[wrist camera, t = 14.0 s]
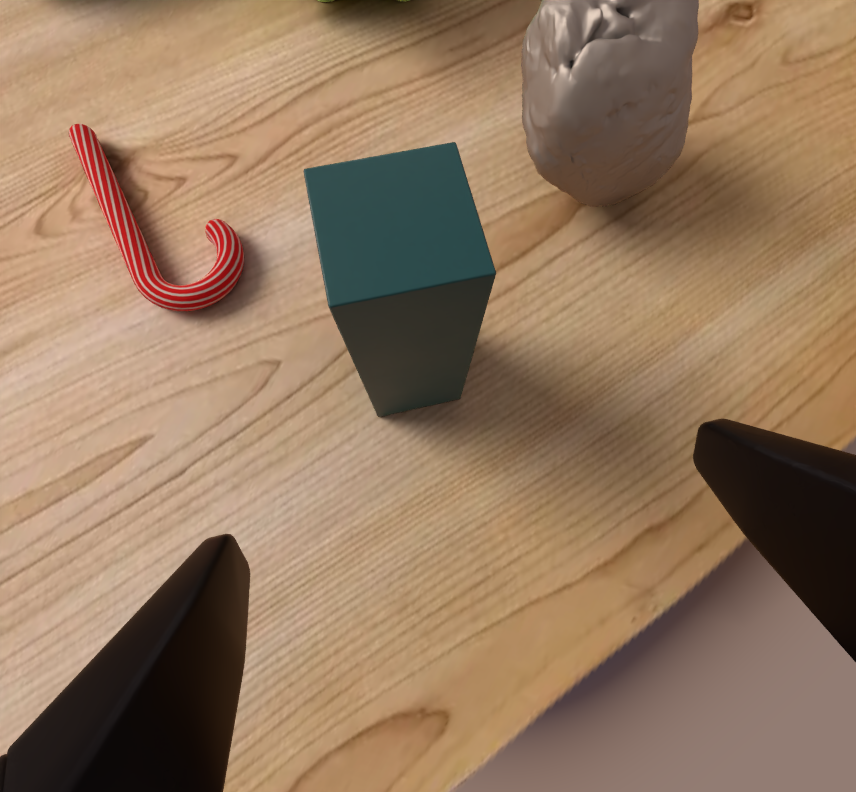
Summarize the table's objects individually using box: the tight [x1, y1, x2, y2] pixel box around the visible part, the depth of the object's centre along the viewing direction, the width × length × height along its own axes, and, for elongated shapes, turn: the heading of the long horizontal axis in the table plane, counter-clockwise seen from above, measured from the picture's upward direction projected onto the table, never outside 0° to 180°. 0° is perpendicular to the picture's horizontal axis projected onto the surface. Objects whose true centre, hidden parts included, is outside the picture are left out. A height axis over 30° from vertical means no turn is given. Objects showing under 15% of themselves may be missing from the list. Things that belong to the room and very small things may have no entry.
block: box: [304, 142, 496, 417], centre depth 17 cm, size 4×4×12 cm
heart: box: [521, 0, 699, 207], centre depth 21 cm, size 10×10×12 cm
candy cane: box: [69, 124, 244, 311], centre depth 25 cm, size 6×15×2 cm, turn 31°
